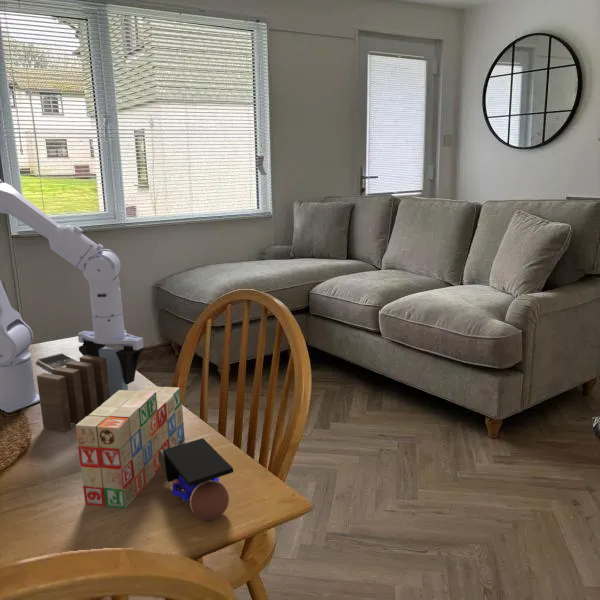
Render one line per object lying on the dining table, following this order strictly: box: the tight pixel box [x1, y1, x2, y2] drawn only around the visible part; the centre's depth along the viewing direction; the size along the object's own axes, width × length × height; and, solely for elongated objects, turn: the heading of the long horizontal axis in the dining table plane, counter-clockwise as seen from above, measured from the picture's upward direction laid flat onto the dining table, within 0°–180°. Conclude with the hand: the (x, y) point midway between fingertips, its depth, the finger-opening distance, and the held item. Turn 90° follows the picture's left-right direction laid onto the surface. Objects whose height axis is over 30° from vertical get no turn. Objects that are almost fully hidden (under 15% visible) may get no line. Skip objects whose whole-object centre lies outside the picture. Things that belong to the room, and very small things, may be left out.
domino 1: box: [36, 372, 72, 434], centre depth 105 cm, size 2×5×10 cm, turn 66°
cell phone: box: [35, 353, 77, 372], centre depth 139 cm, size 6×11×1 cm, turn 44°
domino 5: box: [99, 346, 129, 397], centre depth 118 cm, size 2×5×10 cm, turn 66°
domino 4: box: [79, 355, 110, 407], centre depth 114 cm, size 2×5×10 cm, turn 66°
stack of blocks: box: [75, 385, 185, 509], centre depth 91 cm, size 21×6×12 cm, turn 169°
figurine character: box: [158, 437, 234, 521], centre depth 83 cm, size 7×8×15 cm
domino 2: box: [51, 366, 86, 426], centre depth 108 cm, size 2×5×10 cm, turn 66°
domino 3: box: [66, 360, 98, 417], centre depth 111 cm, size 2×5×10 cm, turn 66°
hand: (114, 379), depth 118 cm, fingers open, 7 cm apart
